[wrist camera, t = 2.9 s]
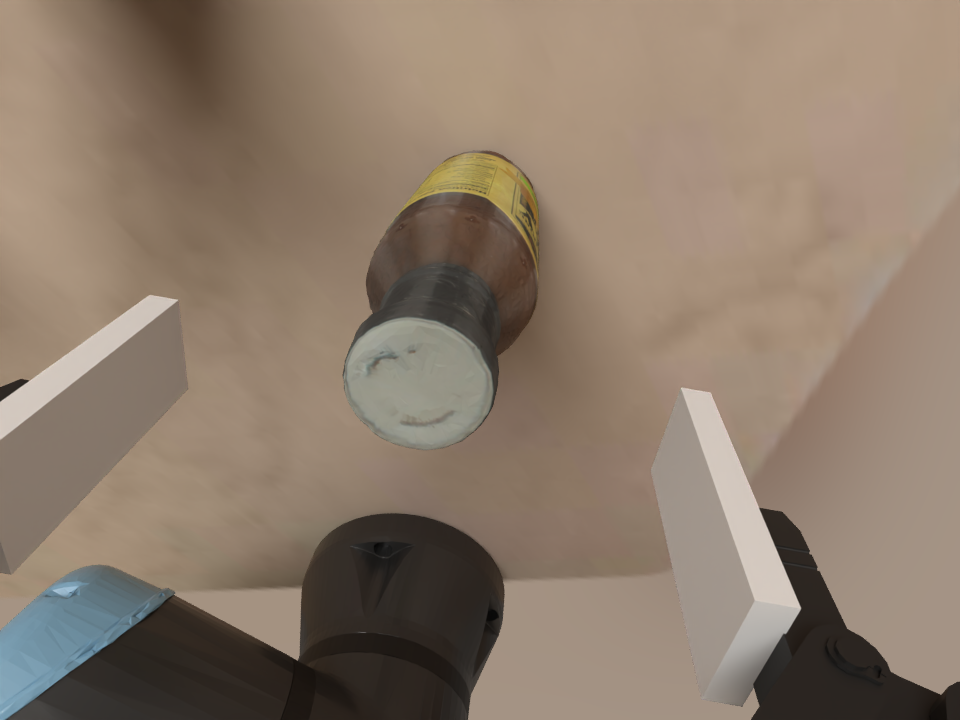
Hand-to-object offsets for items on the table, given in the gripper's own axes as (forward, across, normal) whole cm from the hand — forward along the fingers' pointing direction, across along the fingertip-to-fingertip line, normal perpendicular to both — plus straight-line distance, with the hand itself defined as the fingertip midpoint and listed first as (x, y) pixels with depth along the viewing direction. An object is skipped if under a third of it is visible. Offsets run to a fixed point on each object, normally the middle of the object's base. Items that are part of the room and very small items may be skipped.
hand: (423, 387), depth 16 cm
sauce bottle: (+20, 0, 0) cm, 20 cm away
